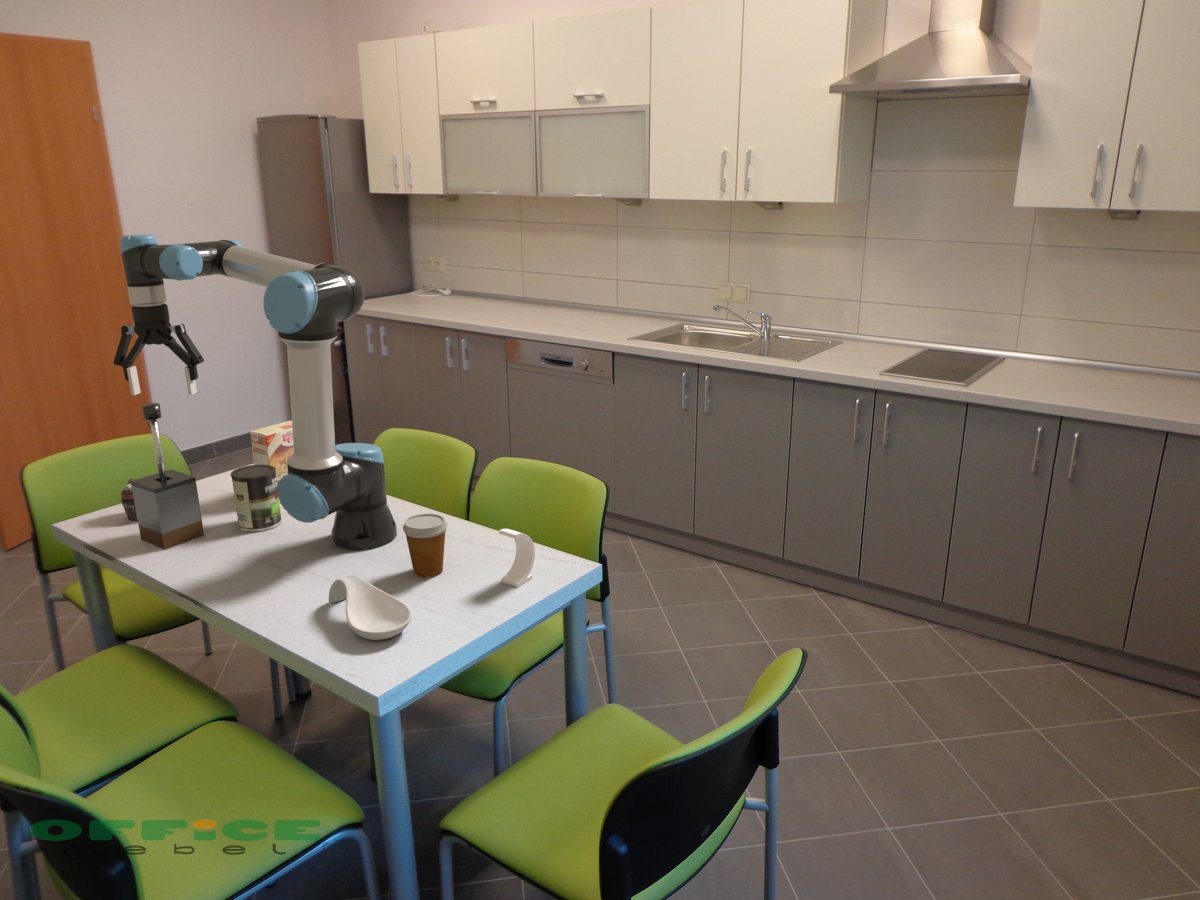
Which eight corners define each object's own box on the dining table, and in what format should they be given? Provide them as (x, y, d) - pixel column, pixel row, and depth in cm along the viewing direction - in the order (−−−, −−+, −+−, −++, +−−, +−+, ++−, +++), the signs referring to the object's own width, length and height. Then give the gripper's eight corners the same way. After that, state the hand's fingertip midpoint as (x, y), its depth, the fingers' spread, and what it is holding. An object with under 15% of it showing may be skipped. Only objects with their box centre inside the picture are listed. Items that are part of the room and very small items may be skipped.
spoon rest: (424, 633, 164) (421, 600, 161) (368, 656, 156) (365, 621, 154) (363, 591, 180) (360, 560, 178) (310, 609, 172) (306, 577, 170)
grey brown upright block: (204, 535, 207) (195, 477, 202) (164, 549, 199) (154, 489, 194) (180, 526, 212) (171, 469, 208) (141, 540, 204) (130, 481, 200)
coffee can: (288, 516, 219) (282, 464, 214) (272, 532, 209) (265, 478, 205) (248, 516, 219) (241, 463, 215) (230, 532, 209) (223, 477, 205)
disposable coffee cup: (457, 565, 191) (455, 515, 188) (436, 583, 183) (433, 532, 179) (420, 559, 194) (416, 510, 191) (397, 577, 186) (393, 526, 182)
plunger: (187, 487, 203) (173, 403, 196) (158, 496, 197) (144, 410, 191) (170, 482, 206) (157, 399, 200) (142, 490, 201) (127, 406, 195)
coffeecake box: (274, 506, 225) (265, 435, 219) (257, 500, 229) (248, 431, 223) (320, 489, 237) (313, 421, 231) (303, 484, 241) (295, 417, 235)
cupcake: (125, 526, 213) (118, 488, 210) (124, 513, 221) (117, 476, 218) (167, 518, 217) (161, 481, 214) (165, 506, 225) (159, 470, 222)
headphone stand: (501, 581, 184) (499, 530, 180) (519, 571, 188) (517, 521, 185) (517, 587, 181) (515, 535, 177) (535, 577, 186) (534, 525, 182)
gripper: (210, 301, 200) (223, 389, 206) (104, 302, 201) (121, 390, 207) (195, 305, 193) (209, 397, 199) (85, 306, 193) (103, 398, 200)
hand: (164, 393), depth 203 cm, fingers open, 13 cm apart
